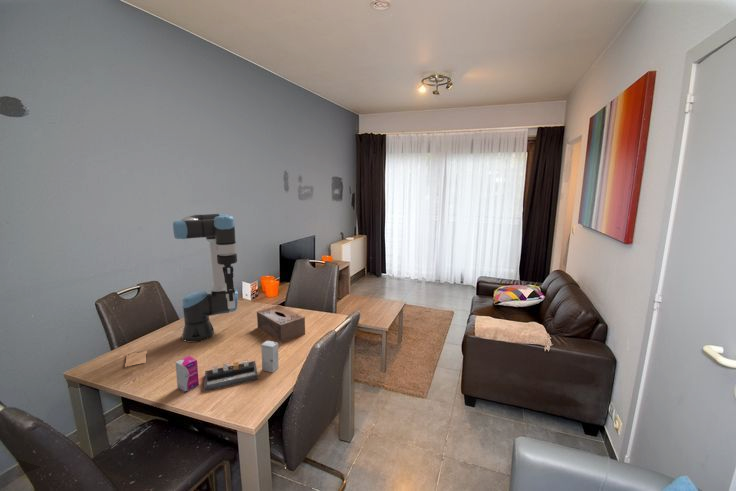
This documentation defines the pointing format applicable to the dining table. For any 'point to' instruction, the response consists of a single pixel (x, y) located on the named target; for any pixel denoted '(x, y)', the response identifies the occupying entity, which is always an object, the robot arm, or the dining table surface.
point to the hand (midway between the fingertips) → (230, 302)
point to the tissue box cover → (281, 323)
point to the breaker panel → (230, 375)
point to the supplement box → (187, 373)
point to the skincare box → (270, 356)
